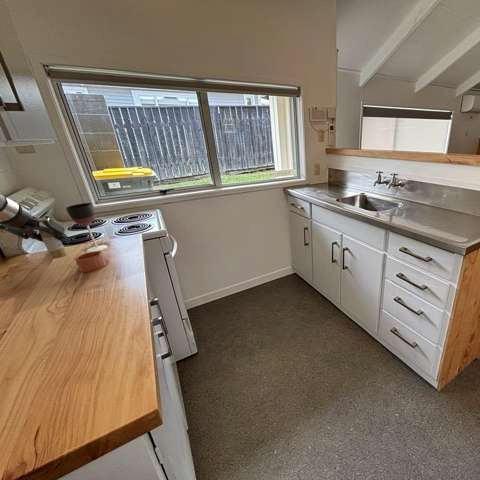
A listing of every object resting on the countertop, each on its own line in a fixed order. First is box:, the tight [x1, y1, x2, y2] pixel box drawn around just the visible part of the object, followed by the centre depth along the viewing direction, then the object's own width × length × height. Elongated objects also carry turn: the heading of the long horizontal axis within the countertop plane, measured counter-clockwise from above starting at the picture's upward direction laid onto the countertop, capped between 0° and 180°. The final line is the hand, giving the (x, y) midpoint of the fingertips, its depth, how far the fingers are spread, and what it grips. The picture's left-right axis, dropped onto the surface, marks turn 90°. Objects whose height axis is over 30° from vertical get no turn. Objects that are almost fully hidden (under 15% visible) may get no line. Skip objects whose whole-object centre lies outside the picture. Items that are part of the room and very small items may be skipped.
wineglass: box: [65, 202, 108, 253], centre depth 112 cm, size 8×9×20 cm
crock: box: [74, 250, 107, 273], centre depth 97 cm, size 8×8×5 cm
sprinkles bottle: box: [37, 230, 68, 260], centre depth 96 cm, size 5×5×14 cm
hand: (60, 241), depth 100 cm, fingers closed on sprinkles bottle, 4 cm apart
